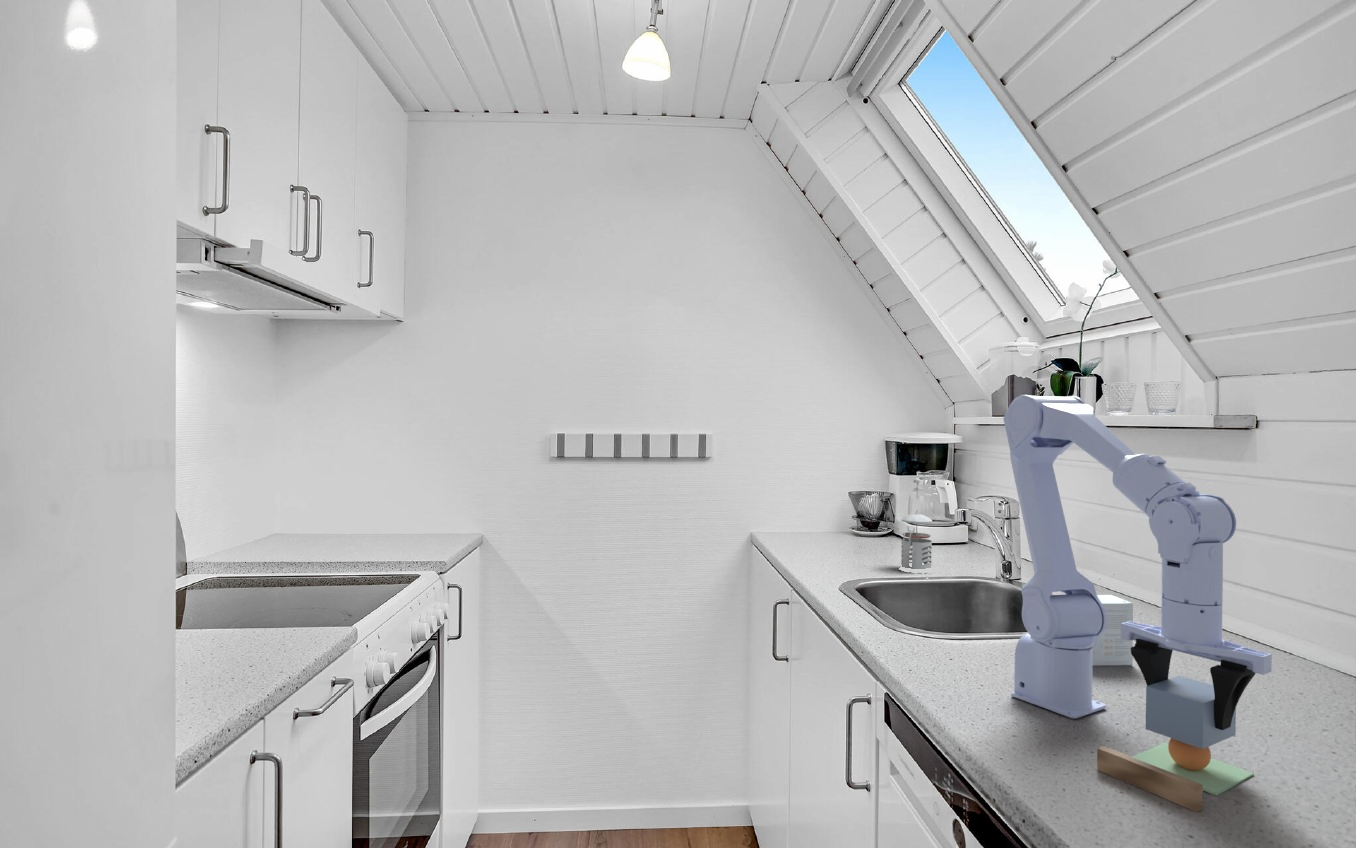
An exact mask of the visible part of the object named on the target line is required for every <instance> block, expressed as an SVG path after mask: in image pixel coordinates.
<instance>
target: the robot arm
mask: <svg viewBox="0 0 1356 848" xmlns="http://www.w3.org/2000/svg"><path fill="white" fill-rule="evenodd" d="M1002 419H1003V423H1004V428H1005V433H1006V437H1007V442H1008V447H1009V451H1010V452H1009V454H1010V457H1009V458H1010V463H1011V468H1012V472H1013V477H1014V482H1015V487H1016V491H1017V496H1018V500H1019V505H1020V511H1021V515H1022V520H1023V524H1024V529H1025V534H1026V539H1027V544H1028V548H1029V549H1028V550H1029V553H1030V558H1031V562H1032V566H1033V572H1034V575H1032V577H1031V578H1030V579H1029V580H1028V581H1027V582H1026V583H1025V584H1024V585H1023V586H1022V588H1021V591H1020V592H1021V595H1022V608H1021V619H1022V623H1023V626H1024V628H1025V630H1026V631H1027V632H1026V633H1024V634H1022V636H1020V638H1018V641H1017V643H1016V646H1015V650H1014V684H1013V685H1014V690H1013V691H1012V692H1010V696H1011V697H1013V698H1016V699H1019V700H1022V701H1024V702H1027V703H1029V704H1032V705H1035V706H1038V707H1039V708H1042V709H1046V710H1048V711H1051V712H1054V713H1057V714H1059V715H1062V716H1065V717H1067V718H1070V719H1074V720H1076V719H1079V718H1082V717H1084V716H1086V715H1091V714H1093V713H1096V712H1099V711H1102V710H1104V709H1106V708H1107V705H1106V703H1103V702H1100V701H1097V700H1094V699H1093V645H1094V644H1097V637H1098V636H1100V635H1102V634H1103V632H1104V631H1105V629H1106V626H1107V614H1106V611H1105V608H1104V606H1103V604H1102V603H1101V601H1100V600H1099V598H1098V596H1097V595H1098V594H1097V591H1096V588H1095V584H1094V582H1092V581H1091V580H1090V579H1089V578H1087V577H1086V576H1084V575H1083V574H1082V573H1080V571H1079V570H1077V565H1076V562H1075V558H1074V557H1075V556H1074V554H1073V548H1072V544H1071V540H1070V535H1069V531H1068V530H1069V529H1068V528H1067V523H1066V522H1067V521H1066V518H1065V513H1064V510H1063V505H1062V501H1061V496H1060V492H1059V491H1060V490H1059V486H1058V483H1057V479H1056V474H1055V470H1054V466H1053V465H1054V462H1056V460H1057V458H1058V457H1059V455H1062V454H1063V453H1064V452H1065V451H1067V450H1068V449H1069V448H1070V447H1071V446H1072V445H1073V444H1075V445H1076V446H1078V447H1079V448H1080V449H1081V450H1082V451H1084V452H1086V454H1088V455H1089V456H1091V457H1092V458H1093V459H1095V460H1096V461H1097V462H1099V463H1100V464H1101V466H1104V467H1105V468H1106V469H1108V471H1110V472H1111V473H1112V484H1113V486H1114V487H1115V489H1117V490H1118V491H1119V492H1120V493H1121V494H1122V495H1123V496H1125V498H1127V500H1129V501H1130V502H1131V503H1132V504H1133V505H1134V506H1136V508H1138V509H1139V510H1140V511H1141V512H1142V513H1143V514H1145V515H1146V516H1147V517H1148V523H1149V527H1150V528H1149V529H1150V531H1151V533H1152V535H1153V536H1154V538H1155V539H1156V542H1157V548H1158V549H1157V553H1158V554H1159V555H1160V558H1161V607H1160V608H1161V612H1160V613H1161V620H1160V621H1161V622H1160V623H1161V624H1160V626H1157V625H1152V624H1151V625H1150V624H1145V623H1140V622H1136V621H1133V622H1131V621H1128V622H1124V623H1121V639H1125V640H1129V641H1131V640H1133V641H1134V642H1135V644H1134V646H1133V647H1131V654H1132V656H1133V659H1134V660H1135V662H1136V663H1137V666H1138V668H1139V670H1140V671H1141V674H1142V676H1143V678H1144V682H1145V684H1146V686H1148V685H1152V684H1155V683H1158V682H1161V681H1164V680H1168V679H1169V673H1170V666H1171V660H1172V655H1173V651H1175V652H1177V653H1178V652H1179V653H1183V654H1187V655H1189V656H1190V655H1192V656H1195V657H1199V658H1203V659H1206V660H1211V661H1214V662H1219V663H1220V664H1216V665H1214V666H1211V667H1210V668H1209V672H1210V674H1211V675H1210V677H1211V680H1212V685H1213V687H1214V695H1215V711H1214V721H1215V728H1217V729H1220V730H1225V729H1227V728H1229V727H1231V722H1232V718H1233V714H1234V711H1235V708H1236V709H1237V705H1238V703H1239V701H1240V698H1241V696H1242V695H1243V693H1244V692H1245V690H1246V688H1247V686H1248V685H1249V684H1250V682H1251V681H1252V680H1253V678H1254V677H1255V676H1256V674H1259V675H1267V674H1269V673H1272V670H1273V669H1272V668H1273V667H1272V665H1273V664H1272V663H1273V662H1272V661H1273V660H1272V658H1273V657H1272V656H1273V655H1272V654H1271V653H1268V652H1263V651H1260V650H1257V649H1252V648H1250V647H1246V646H1244V645H1240V644H1239V643H1238V644H1237V643H1235V642H1231V641H1228V640H1225V639H1223V591H1224V588H1223V584H1224V583H1223V582H1224V581H1223V580H1224V574H1223V573H1224V568H1223V567H1224V563H1223V562H1224V559H1223V558H1224V543H1227V542H1228V541H1230V540H1231V538H1232V537H1233V536H1234V534H1235V532H1236V529H1237V518H1236V515H1235V513H1234V510H1233V508H1232V507H1231V506H1230V505H1229V504H1228V503H1227V502H1226V501H1225V499H1224V498H1223V497H1221V496H1219V495H1215V494H1203V493H1201V492H1200V491H1198V490H1197V487H1196V486H1195V485H1194V484H1192V483H1191V482H1186V481H1185V480H1183V479H1182V478H1181V477H1179V476H1178V475H1177V474H1175V472H1173V471H1172V470H1171V469H1170V468H1168V467H1167V466H1166V464H1167V461H1166V460H1165V459H1163V458H1162V456H1160V455H1152V454H1149V453H1140V454H1136V453H1135V452H1133V450H1132V449H1130V448H1129V446H1127V445H1126V444H1125V443H1124V441H1122V439H1120V438H1119V437H1118V436H1117V435H1116V434H1115V433H1113V432H1112V431H1111V429H1109V428H1108V427H1107V426H1106V425H1105V424H1104V423H1103V422H1102V421H1101V420H1100V419H1099V418H1098V417H1097V416H1096V412H1095V408H1094V407H1093V406H1091V405H1090V404H1087V403H1086V402H1085V401H1084V400H1083V398H1081V397H1079V396H1076V395H1068V396H1044V395H1043V396H1042V395H1041V396H1040V395H1038V396H1037V395H1029V394H1021V395H1018V396H1017V397H1015V398H1014V399H1013V400H1012V401H1011V402H1010V405H1009V406H1008V407H1007V411H1006V413H1005V414H1004V416H1003V418H1002ZM1055 592H1059V593H1064V594H1053V593H1055ZM1052 594H1053V595H1052Z"/></svg>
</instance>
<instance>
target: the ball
mask: <svg viewBox="0 0 1356 848" xmlns="http://www.w3.org/2000/svg"><path fill="white" fill-rule="evenodd" d="M1168 743H1169V744H1168V750H1169V753H1170V755H1171V757H1172V759H1173V760H1174V761H1175V762H1176V763H1177V764H1178V765H1180V766H1181V767H1183V768H1185V769H1188V770H1201V769H1204V768H1205V767H1206V766H1207V765H1208V764H1209V763H1210V760H1211V758H1212V754H1211V749H1210V746H1209V747H1207V748H1204V749H1201V748H1198V747H1195V746H1192V745H1189V744H1187V743H1184V742H1181V741H1178V740H1175V739H1172V738H1170V739H1169V741H1168Z"/></svg>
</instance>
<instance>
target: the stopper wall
mask: <svg viewBox="0 0 1356 848" xmlns="http://www.w3.org/2000/svg"><path fill="white" fill-rule="evenodd" d="M1096 750H1097V755H1096V756H1097V758H1096V759H1097V761H1096V764H1097V766H1096V770H1097V771H1099V772H1102V773H1104V774H1106V775H1109V776H1111V777H1113V778H1115V779H1118V780H1119V781H1122V782H1125V783H1127V784H1130V785H1132V786H1134V787H1137V788H1139V789H1142V790H1143V791H1146V792H1149V793H1151V794H1154V795H1155V796H1159V797H1160V798H1163V799H1164V800H1167V801H1170V802H1172V803H1175V804H1177V805H1179V806H1182V807H1184V808H1187V809H1189V810H1191V811H1193V812H1196V813H1198V812H1199V811H1202V810H1203V785H1202V784H1200V783H1197V782H1194V781H1192V780H1189V779H1187V778H1184V777H1182V776H1179V775H1177V774H1174V773H1171V772H1169V771H1166V770H1164V769H1161V768H1159V767H1156V766H1154V765H1151V764H1148V763H1146V762H1143V761H1141V760H1138V759H1136V758H1133V756H1130V755H1127V754H1125V753H1122V752H1120V751H1118V750H1116V749H1112V748H1110V747H1107V746H1105V745H1101V746H1099V747H1097V749H1096Z"/></svg>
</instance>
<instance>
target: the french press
mask: <svg viewBox="0 0 1356 848" xmlns="http://www.w3.org/2000/svg"><path fill="white" fill-rule="evenodd" d="M913 483H914V484H915V483H916V498H918V493H919V492H918V489H919V488H918V483H919V484H920V483H922V481H921V479H920V478H919V477H917V478H914V479H913ZM900 520H901V522H903V523H910V524H916V527H915V526H913V527H912V528H911V529H910V530H909V526H908V525H907V526H906V527H905V529H904V532H903V533H902V535H903V538H901V552H900V553H901V562H900V563H901V565H902V567H905V568H911V569H926V568H932V561H933V560H932V553H933V552H932V548H933V547H932V544H933V541H932V540H930V539H928V538H931V534H928V533H924V532H923V533H922V532H918V524H930V523H932V522H933V520H932V519H931V518H930V517H928V516H927V515H926V516H925V515H924V514H920V513H918V511H916V512H915V513H911V514H908V515H905V516H903V517H902V518H901V519H900ZM915 528H916V530H915ZM907 531H908V532H907ZM915 531H916V532H915ZM910 556H911V557H910ZM909 563H912V567H910V566H909ZM922 563H924V565H922ZM901 565H900V566H901Z"/></svg>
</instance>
